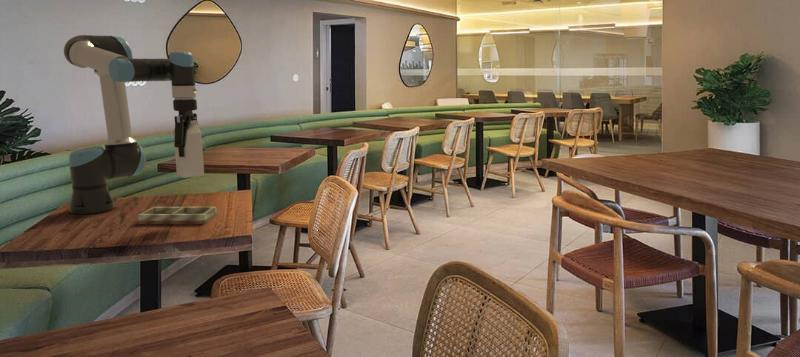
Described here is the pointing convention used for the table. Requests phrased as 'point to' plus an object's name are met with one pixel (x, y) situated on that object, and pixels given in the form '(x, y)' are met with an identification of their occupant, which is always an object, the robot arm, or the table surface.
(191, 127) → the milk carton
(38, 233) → the table surface
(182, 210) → the board
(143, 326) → the table surface
